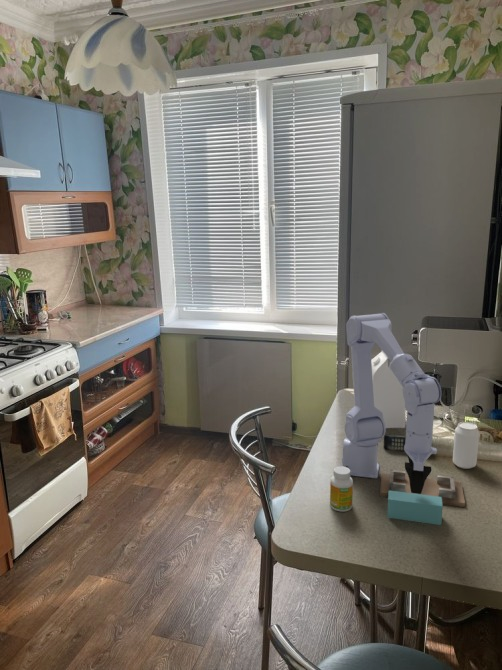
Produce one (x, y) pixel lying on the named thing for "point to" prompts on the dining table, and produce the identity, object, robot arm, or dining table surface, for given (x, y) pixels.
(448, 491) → the wooden bracket tray
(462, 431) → the beverage can
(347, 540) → the dining table surface
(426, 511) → the teal rectangular block
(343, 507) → the supplement bottle
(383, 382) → the milk
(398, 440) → the mobile phone
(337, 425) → the dining table surface
